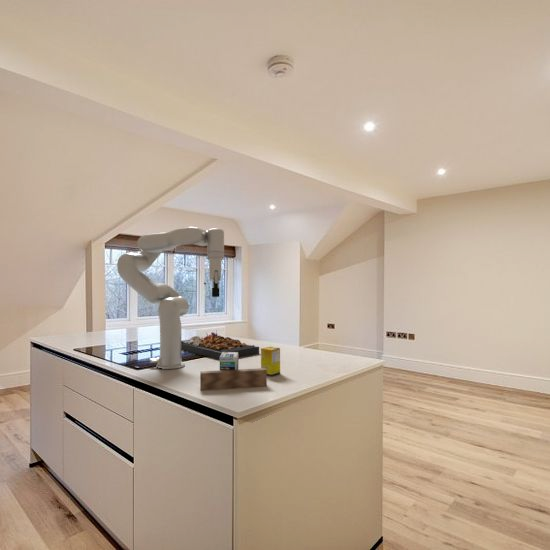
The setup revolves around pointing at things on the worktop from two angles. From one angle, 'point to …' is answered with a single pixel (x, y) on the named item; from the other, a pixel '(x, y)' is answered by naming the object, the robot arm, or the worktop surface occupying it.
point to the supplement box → (271, 360)
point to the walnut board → (233, 378)
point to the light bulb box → (229, 361)
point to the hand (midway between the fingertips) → (215, 296)
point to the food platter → (217, 346)
